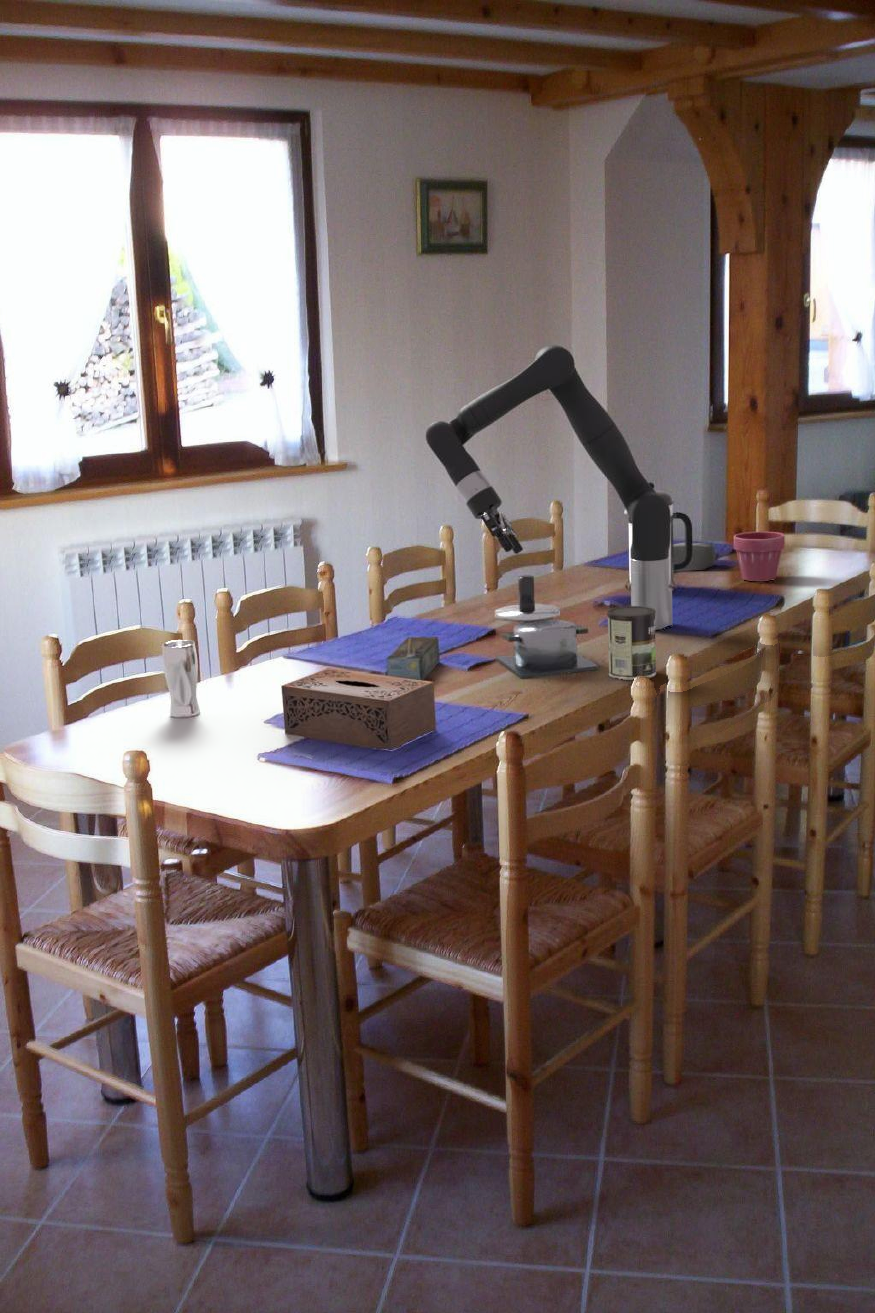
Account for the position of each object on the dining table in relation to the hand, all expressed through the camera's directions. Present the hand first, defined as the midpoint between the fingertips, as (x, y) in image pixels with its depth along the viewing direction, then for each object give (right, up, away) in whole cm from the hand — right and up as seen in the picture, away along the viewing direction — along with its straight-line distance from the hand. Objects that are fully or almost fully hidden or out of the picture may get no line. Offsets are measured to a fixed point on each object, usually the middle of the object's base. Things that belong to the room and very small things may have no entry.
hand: (515, 551), depth 325 cm
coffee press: (+43, -6, +61) cm, 74 cm away
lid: (+2, -15, -6) cm, 16 cm away
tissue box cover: (-33, -40, -58) cm, 78 cm away
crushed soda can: (-70, -37, -40) cm, 89 cm away
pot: (+6, -27, -15) cm, 31 cm away
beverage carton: (-23, -29, -16) cm, 40 cm away
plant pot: (+73, -3, +67) cm, 99 cm away
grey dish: (+56, +1, +89) cm, 105 cm away
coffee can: (+24, -29, -27) cm, 46 cm away
